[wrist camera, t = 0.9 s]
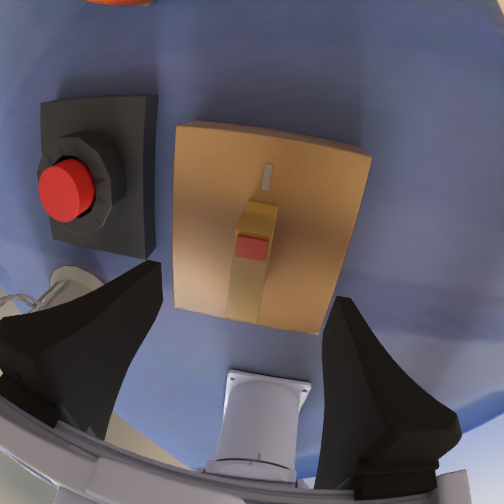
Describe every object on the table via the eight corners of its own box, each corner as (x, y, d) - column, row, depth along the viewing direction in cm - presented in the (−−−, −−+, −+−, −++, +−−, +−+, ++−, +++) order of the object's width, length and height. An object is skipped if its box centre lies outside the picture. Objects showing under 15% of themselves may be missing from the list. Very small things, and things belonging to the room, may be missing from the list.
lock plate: (317, 307, 22) (318, 336, 20) (186, 282, 23) (172, 309, 20) (361, 146, 16) (373, 157, 14) (194, 119, 17) (174, 125, 14)
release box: (155, 248, 22) (134, 274, 19) (64, 230, 22) (39, 250, 19) (158, 94, 16) (130, 97, 13) (55, 100, 17) (22, 106, 14)
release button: (97, 214, 17) (82, 226, 16) (58, 208, 18) (42, 218, 16) (94, 159, 16) (76, 167, 14) (53, 157, 16) (35, 165, 14)
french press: (79, 342, 30) (-20, 513, 8) (28, 256, 25) (-119, 429, 3) (144, 344, 28) (41, 570, 6) (89, 240, 22) (-104, 487, 1)
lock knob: (264, 283, 18) (256, 326, 15) (238, 278, 18) (224, 320, 15) (278, 205, 16) (272, 237, 12) (248, 200, 16) (233, 231, 13)
